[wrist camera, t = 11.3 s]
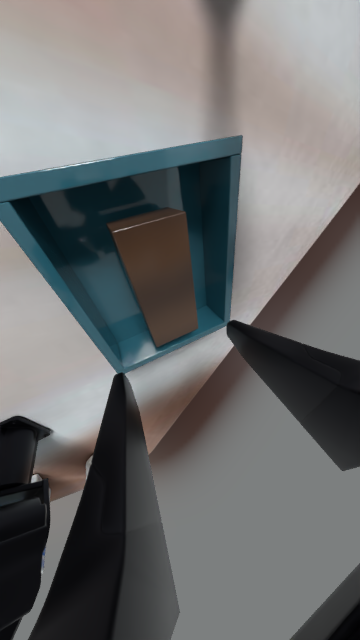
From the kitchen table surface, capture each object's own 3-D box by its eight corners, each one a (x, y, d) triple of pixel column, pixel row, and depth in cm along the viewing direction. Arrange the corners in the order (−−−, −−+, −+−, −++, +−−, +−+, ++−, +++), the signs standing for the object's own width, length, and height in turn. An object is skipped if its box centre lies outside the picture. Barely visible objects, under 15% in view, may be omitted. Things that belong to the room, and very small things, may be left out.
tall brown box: (178, 303, 20) (198, 328, 17) (142, 317, 19) (156, 347, 16) (158, 204, 14) (186, 211, 10) (102, 218, 13) (111, 231, 9)
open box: (209, 305, 24) (229, 324, 20) (113, 346, 21) (119, 376, 17) (202, 147, 13) (243, 134, 10) (5, 183, 10) (-30, 182, 7)
